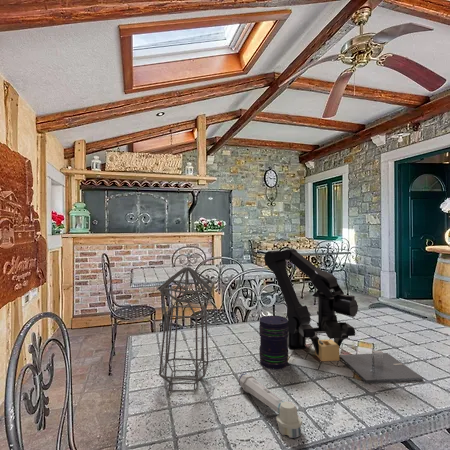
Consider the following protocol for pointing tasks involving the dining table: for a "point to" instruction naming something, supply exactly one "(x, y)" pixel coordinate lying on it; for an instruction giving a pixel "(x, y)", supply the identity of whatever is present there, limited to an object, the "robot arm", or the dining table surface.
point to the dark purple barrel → (273, 342)
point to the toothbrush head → (274, 406)
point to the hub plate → (379, 368)
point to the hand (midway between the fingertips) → (326, 354)
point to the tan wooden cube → (328, 350)
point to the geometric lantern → (209, 289)
